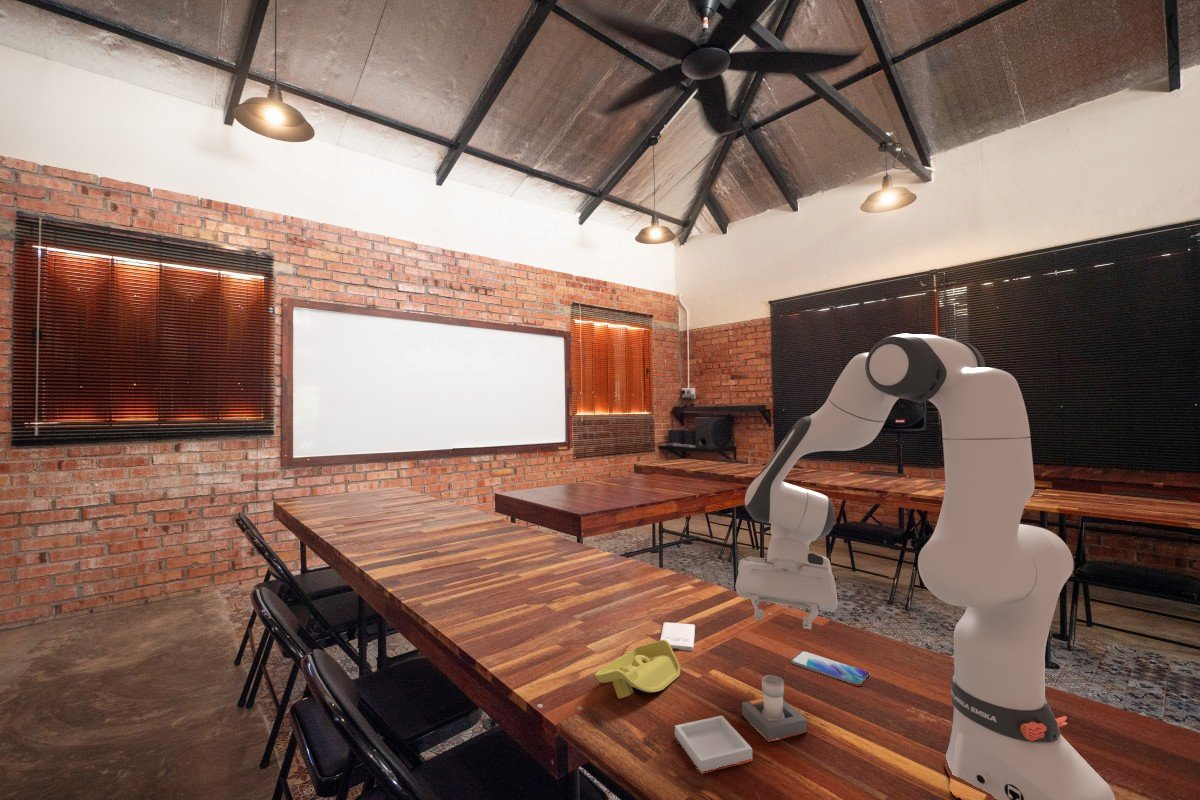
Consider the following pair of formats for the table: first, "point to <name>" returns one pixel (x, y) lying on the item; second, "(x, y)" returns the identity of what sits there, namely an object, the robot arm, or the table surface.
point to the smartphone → (829, 667)
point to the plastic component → (642, 669)
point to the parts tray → (712, 743)
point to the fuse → (773, 697)
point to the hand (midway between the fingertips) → (782, 623)
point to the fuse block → (777, 728)
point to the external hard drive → (679, 635)
